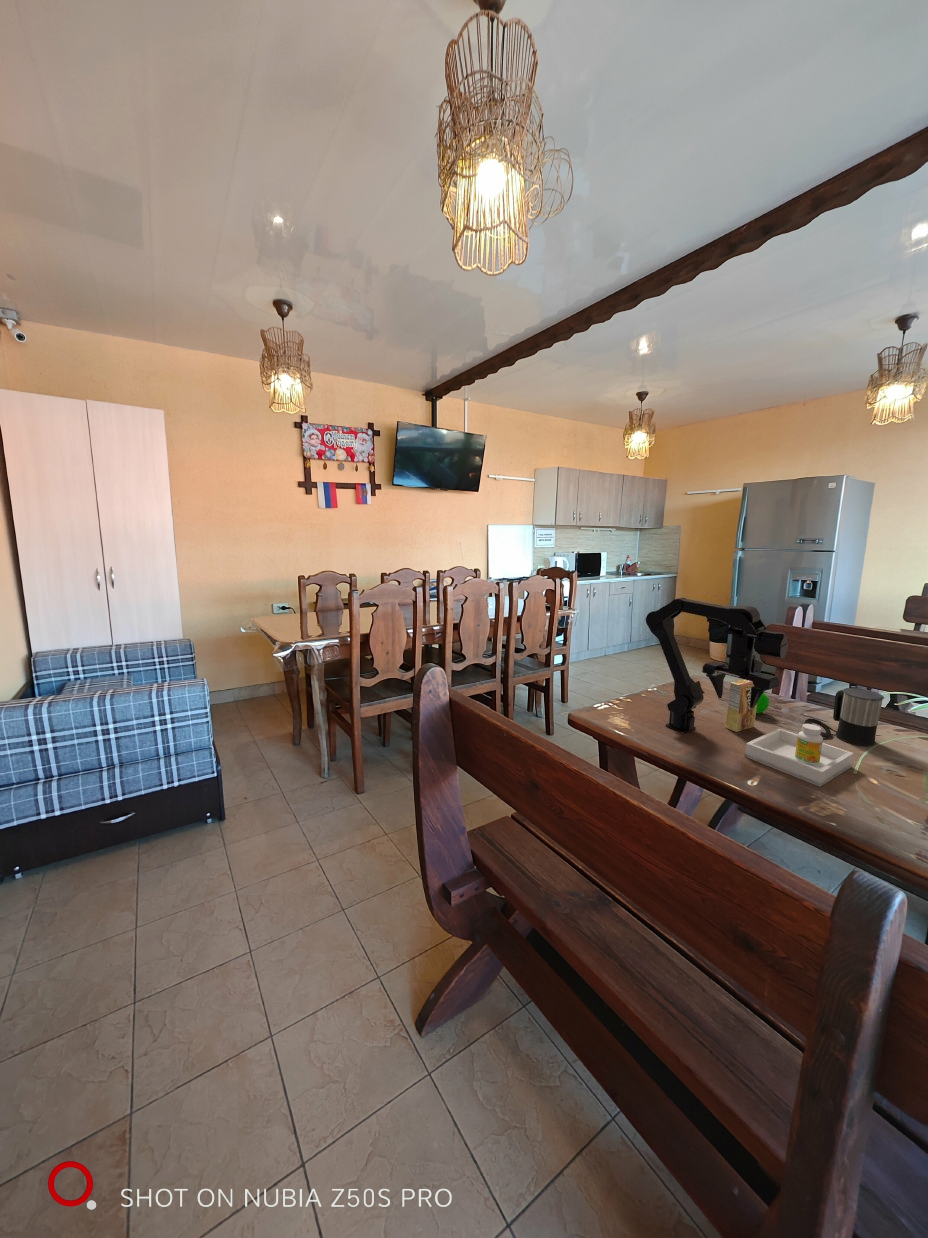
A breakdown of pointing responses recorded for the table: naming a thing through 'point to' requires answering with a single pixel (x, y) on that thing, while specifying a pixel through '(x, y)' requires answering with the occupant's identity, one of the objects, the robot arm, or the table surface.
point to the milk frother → (854, 716)
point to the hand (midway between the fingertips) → (735, 703)
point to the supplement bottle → (809, 744)
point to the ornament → (762, 703)
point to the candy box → (740, 706)
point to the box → (781, 756)
